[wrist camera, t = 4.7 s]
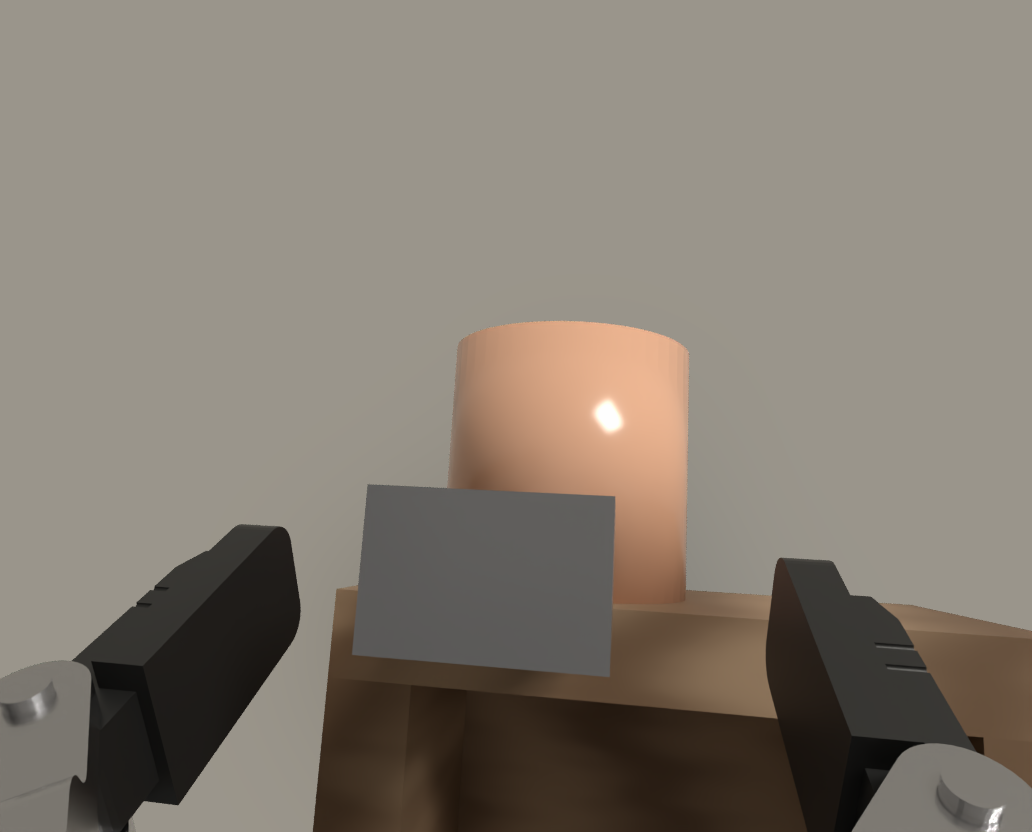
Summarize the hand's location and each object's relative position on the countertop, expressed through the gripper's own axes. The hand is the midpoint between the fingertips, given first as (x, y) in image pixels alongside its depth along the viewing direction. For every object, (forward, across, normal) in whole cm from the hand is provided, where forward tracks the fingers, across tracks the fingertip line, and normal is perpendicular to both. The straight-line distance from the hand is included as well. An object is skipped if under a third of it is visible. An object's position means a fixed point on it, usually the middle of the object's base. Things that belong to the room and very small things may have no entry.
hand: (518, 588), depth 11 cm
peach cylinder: (+4, 0, +3) cm, 5 cm away
